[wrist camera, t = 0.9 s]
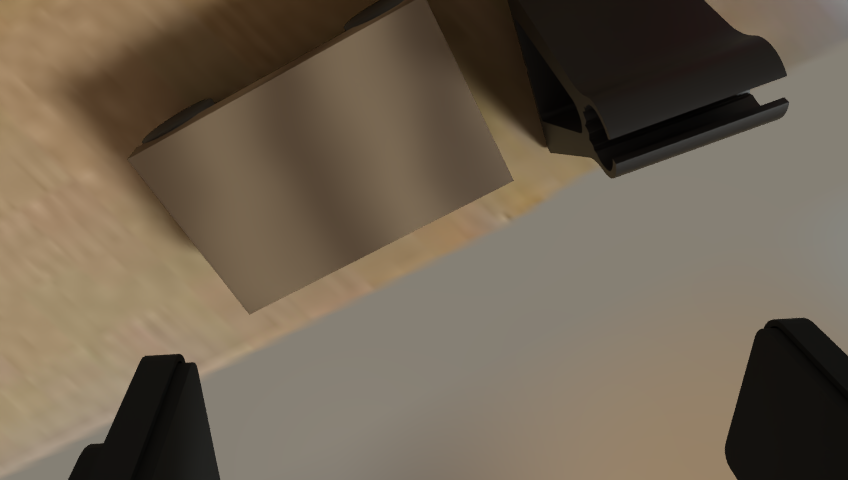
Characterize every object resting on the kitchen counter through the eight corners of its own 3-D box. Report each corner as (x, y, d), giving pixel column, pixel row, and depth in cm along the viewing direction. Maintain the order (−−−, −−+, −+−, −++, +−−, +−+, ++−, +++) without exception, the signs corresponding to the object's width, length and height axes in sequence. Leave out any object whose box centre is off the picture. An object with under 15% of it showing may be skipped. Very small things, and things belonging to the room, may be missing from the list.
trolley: (413, -19, 30) (424, -5, 27) (494, 147, 35) (513, 180, 31) (153, 126, 32) (127, 159, 28) (259, 268, 36) (249, 314, 32)
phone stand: (500, -26, 31) (583, 18, 20) (627, -73, 31) (778, -53, 20) (547, 150, 35) (635, 262, 24) (658, 110, 35) (797, 206, 24)
